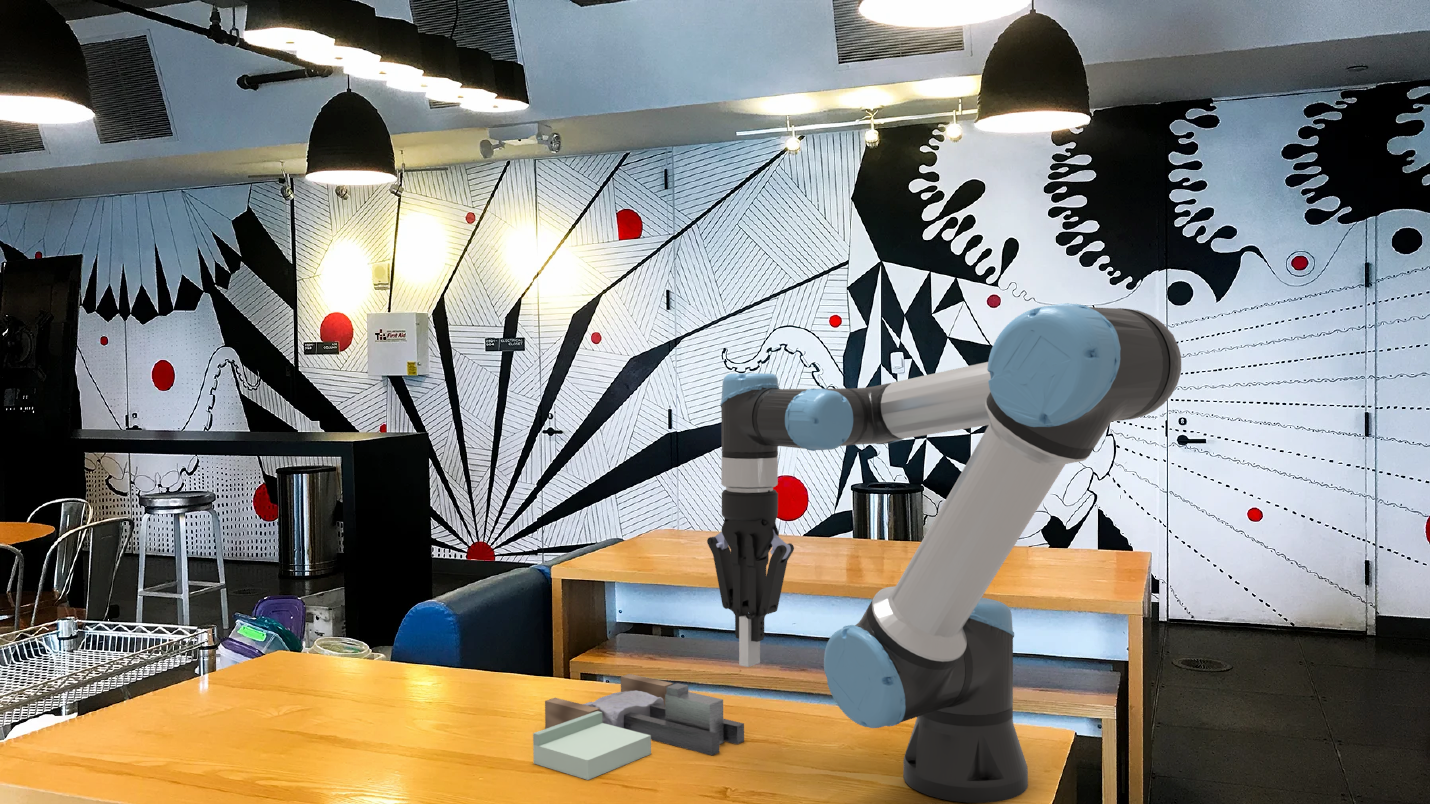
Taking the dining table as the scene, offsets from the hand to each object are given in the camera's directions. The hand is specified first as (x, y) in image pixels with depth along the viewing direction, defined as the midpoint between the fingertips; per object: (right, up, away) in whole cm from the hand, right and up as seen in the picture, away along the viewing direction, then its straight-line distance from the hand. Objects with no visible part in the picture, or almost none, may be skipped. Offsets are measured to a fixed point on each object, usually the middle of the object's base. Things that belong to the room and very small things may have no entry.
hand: (749, 663), depth 148 cm
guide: (-9, -12, +7) cm, 17 cm away
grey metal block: (-8, -12, +6) cm, 16 cm away
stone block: (-19, -13, +15) cm, 28 cm away
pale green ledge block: (-21, -12, -1) cm, 24 cm away
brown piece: (-20, -12, +16) cm, 28 cm away
